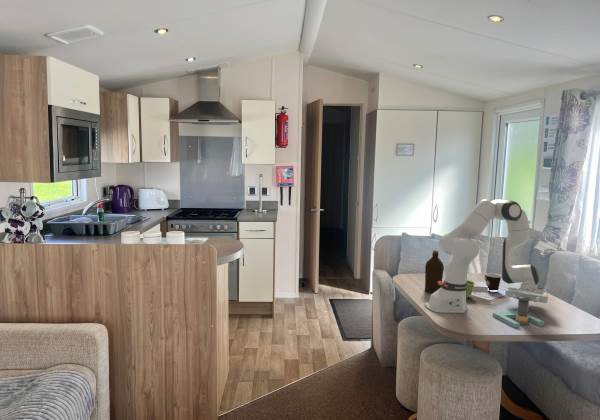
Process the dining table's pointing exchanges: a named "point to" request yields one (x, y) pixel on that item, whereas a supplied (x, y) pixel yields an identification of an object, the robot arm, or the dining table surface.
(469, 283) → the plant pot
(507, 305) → the dining table surface
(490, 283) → the coffee mug
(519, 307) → the door knob
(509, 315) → the notched board
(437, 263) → the olive oil
